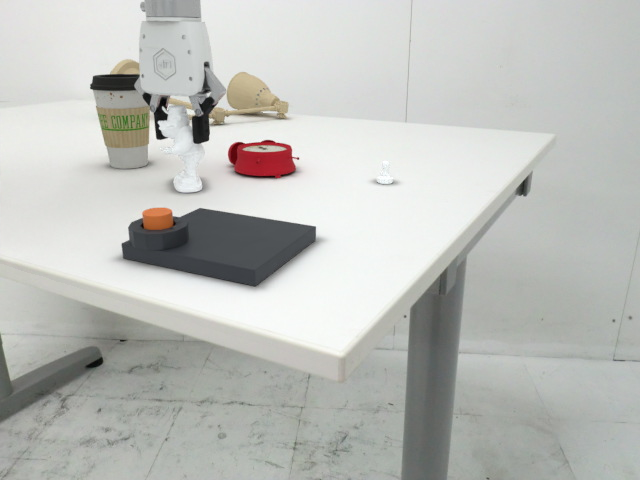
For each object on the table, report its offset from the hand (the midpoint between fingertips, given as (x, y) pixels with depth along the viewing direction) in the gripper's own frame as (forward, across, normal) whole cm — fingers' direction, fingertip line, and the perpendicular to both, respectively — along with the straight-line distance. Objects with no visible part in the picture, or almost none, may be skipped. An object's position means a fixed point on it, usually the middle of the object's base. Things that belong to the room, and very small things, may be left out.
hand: (182, 139), depth 85 cm
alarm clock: (+7, +5, +15) cm, 17 cm away
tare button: (+4, +15, -25) cm, 29 cm away
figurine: (+7, 0, 0) cm, 7 cm away
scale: (+7, +20, -20) cm, 29 cm away
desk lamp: (+7, -37, +59) cm, 70 cm away
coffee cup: (+7, -17, +7) cm, 20 cm away
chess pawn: (+7, +27, +16) cm, 32 cm away
